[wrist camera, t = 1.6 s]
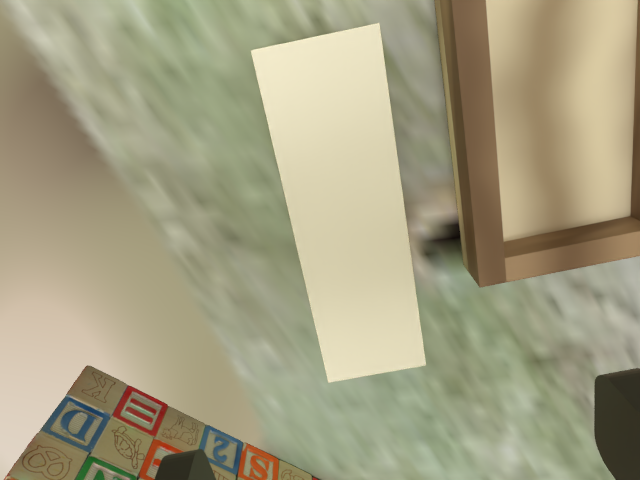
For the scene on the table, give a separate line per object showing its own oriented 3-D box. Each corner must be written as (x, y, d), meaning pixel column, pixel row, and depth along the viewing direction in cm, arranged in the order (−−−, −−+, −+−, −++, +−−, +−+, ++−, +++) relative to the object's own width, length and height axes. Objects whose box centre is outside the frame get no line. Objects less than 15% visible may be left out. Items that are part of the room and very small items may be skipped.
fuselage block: (360, 29, 25) (379, 22, 18) (400, 297, 31) (425, 365, 24) (265, 49, 25) (250, 50, 18) (323, 311, 31) (328, 382, 24)
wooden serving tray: (667, -265, 20) (723, -314, 18) (644, 228, 29) (680, 247, 26) (412, -199, 21) (428, -237, 18) (463, 264, 30) (479, 287, 27)
